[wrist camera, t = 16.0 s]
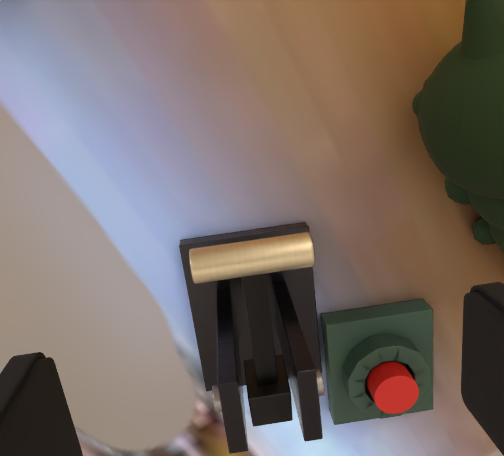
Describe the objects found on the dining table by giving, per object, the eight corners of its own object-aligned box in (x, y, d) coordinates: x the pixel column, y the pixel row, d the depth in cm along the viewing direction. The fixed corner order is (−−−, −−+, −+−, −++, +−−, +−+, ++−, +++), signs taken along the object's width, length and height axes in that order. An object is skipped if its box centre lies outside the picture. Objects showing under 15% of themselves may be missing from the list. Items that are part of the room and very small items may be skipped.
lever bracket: (180, 239, 33) (163, 323, 22) (305, 221, 33) (351, 295, 22) (206, 381, 37) (203, 514, 26) (318, 364, 37) (363, 488, 26)
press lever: (188, 234, 20) (189, 274, 18) (305, 217, 20) (318, 255, 18) (224, 391, 27) (227, 431, 26) (308, 378, 28) (317, 416, 26)
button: (365, 364, 34) (373, 379, 32) (409, 358, 34) (418, 372, 32) (367, 401, 35) (375, 417, 33) (409, 394, 35) (419, 410, 33)
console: (320, 313, 36) (331, 337, 33) (422, 298, 36) (443, 320, 33) (329, 409, 39) (339, 441, 35) (423, 395, 39) (443, 424, 36)
